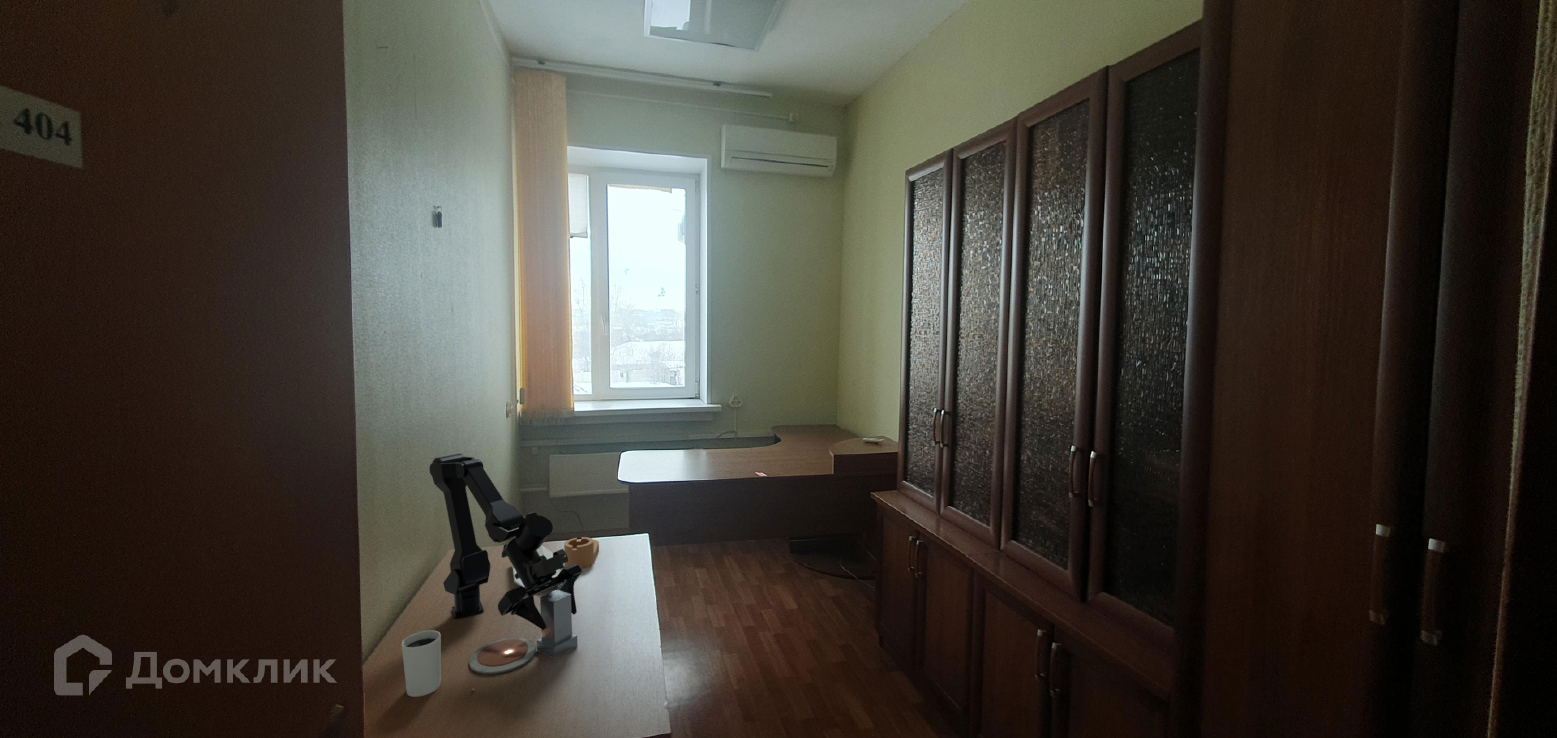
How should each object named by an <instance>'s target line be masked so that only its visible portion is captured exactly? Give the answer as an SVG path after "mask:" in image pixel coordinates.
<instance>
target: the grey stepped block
mask: <svg viewBox="0 0 1557 738" xmlns="http://www.w3.org/2000/svg"><path fill="white" fill-rule="evenodd" d="M539 600H540V601H539V605H540V615H541V616H542V618H543V620H544V622H545V624H546V628H545V629H544V630H542V629H541V628H540V631H541V637H540V638H538V639H536V652H538V653H541V654H543V655H546V656H548V657H550V658H552V659H554V660H555V659H557V658H559V657H560V656H562V655H565V654H566V653H568V652H569V651H571V650H573V649H575V648H577V647H579V646H578V645H579V644H578V635H577V634H576V633H573V622H572V620H573V619H572V615H573V614H572V613H571V594H569V593H566V592H563V591H560V590H559V589H556V590H553V591H551V592H549V593H547V594H544V595H542V596H540V597H539Z"/></svg>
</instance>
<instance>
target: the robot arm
mask: <svg viewBox="0 0 1557 738" xmlns="http://www.w3.org/2000/svg"><path fill="white" fill-rule="evenodd" d="M429 473H430V476H431V477H432V480H433V484H434V485H435V486H436V487H437V488H438V489H439V490H440V491H441V492H442V493H443V496H444V503H445V506H446V510H447V518H448V522H449V527H450V532H451V538H452V542H453V549H454V552H453V554H452V557H451V559H450V562H449V570H450V572H449V574H448V575H447V577H446V578H445V580H444V581H443V587H444V591H445V592H446V593H448V594H452V595H453V599H454V606H452V607H451V611H452V614H453V618H454V619H459V618H463V617H467V616H471V615H476V614H480V613H484V612H485V609H484V606H483V604H482V602H481V589H480V588H481V587H480V586H481V585H484V584H487V583H488V582H489V577H490V573H491V567H492V566H491V565H492V564H491V562H490V558H489V553H488V552H489V551H487V550H486V549H484V550H483V549H482V548H481V547H480V546H479V545H478V543H477V539H476V538H477V537H476V534H475V528H474V524H473V519H472V513H471V508H470V503H469V498H468V493H467V488H468V490H469V492H470V493H471V495H472V497H473V498H474V499H475V501H476V503H477V504H478V506H479V507H480V509H481V510H482V512H483V514H484V516H485V521H484V522H485V523H484V528H485V529H486V532H487V535H488V536H489V538H490V539H491V540H492V541H493V542H494V543H503V542H506V541H508V540H510V541H509V542H508V543H507V544H504V545H503V549H502V551H501V558H502V559H504V558H507V557H508V560H509V561H510V563H511V566H512V565H513V566H512V568H513V567H514V569H515V570H516V572H517V573H516V574H515V578H516V580H517V579H519V578H520V579H521V581H522V583H523V585H524V587H522V586H517V587H516V588H513V589H510V590H508V591H506V592H505V593H504V595H503V596H502V597H501V599H500V600H499V601H498V604H497V610H498V612H499V613H500V616H505V615H507V614H510V615H511V616H514V615H516V616H517V617H520V618H522V619H525V620H526V621H528V622H530V623H531V624H532V625H535V626H536V627H537V628H539V629H540V630H541V629H542V630H544V629H545V628H546V624H545V622H544V620H543V618H542V616H541V612H540V611H539V610H538V607H537V606H536V604H535V598H534V596H537V595H538V594H541V593H543V592H546V591H547V590H550V589H552V588H554V587H556V588H557V589H558V590H560V591H563V592H566V593H569V594H571V615H576V614H577V606H576V605H577V604H576V599H575V588H574V587H575V583H576V581H577V580H578V579H579V577H580V576H581V575H582V574H583V572H584V570H583V569H581V567H580V566H579V565H578V564H573V565H570V566H568V567H565V563H566V562H568V557H567V554H566V553H565V551H564V548H561V549H559V550H556V551H554V552H552V553H553V557H552V558H549V559H547V558H546V557H545V556H544V555H542V556H540V555H539V554H538V552H537V549H539V548H540V546H541V545H542V546H543V544H544V543H545V542H546V540H547V539H548V538H549V536H550V535H551V534H552V532H553V529H554V527H553V523H552V521H551V520H550V519H548V518H547V517H545V516H543V515H539V514H537V512H536V511H531V512H528V513H527V514H526V515H523V514H522V513H521V512H520V511H519V509H518V508H517V506H514V505H512V504H510V503H508V502H506V500H505V499H504V498H503V496H502V495H501V493H500V491H499V490H498V489H497V487H496V486H495V484H494V483H493V481H492V480H491V478H490V477H489V475H488V473H487V471H486V470H485V468H484V463H483V462H482V460H481V459H478V458H475V457H473V456H465V455H464V454H463V453H455V454H450V455H445V456H438V457H435V458H433V461H432V462H431V464H429ZM466 487H467V488H466ZM558 569H561V572H560V573H559V574H558V575H557V576H556V577H554V578H552V576H553V575H555V574H556V573H557V572H556V570H558Z"/></svg>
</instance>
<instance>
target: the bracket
mask: <svg viewBox="0 0 1557 738" xmlns="http://www.w3.org/2000/svg"><path fill="white" fill-rule="evenodd" d="M563 550H564V551H565V553H566V554H567V557H568V562H566V563H564V568H565V567H568V566H570V565H573V564H578V565H579V566H580V567H581V569H582V570H583V569H587V568H590V567H592V566H593V565H594V564H595V562H596V559H597V557H598V554H599V552H600V541H599V540H596V539H593V538H592V537H588V536H587V537H586V536H582V537H580V539H578V537H574V538H573V537H572V538H570V539H567V540H565V542H564V544H563Z"/></svg>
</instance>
